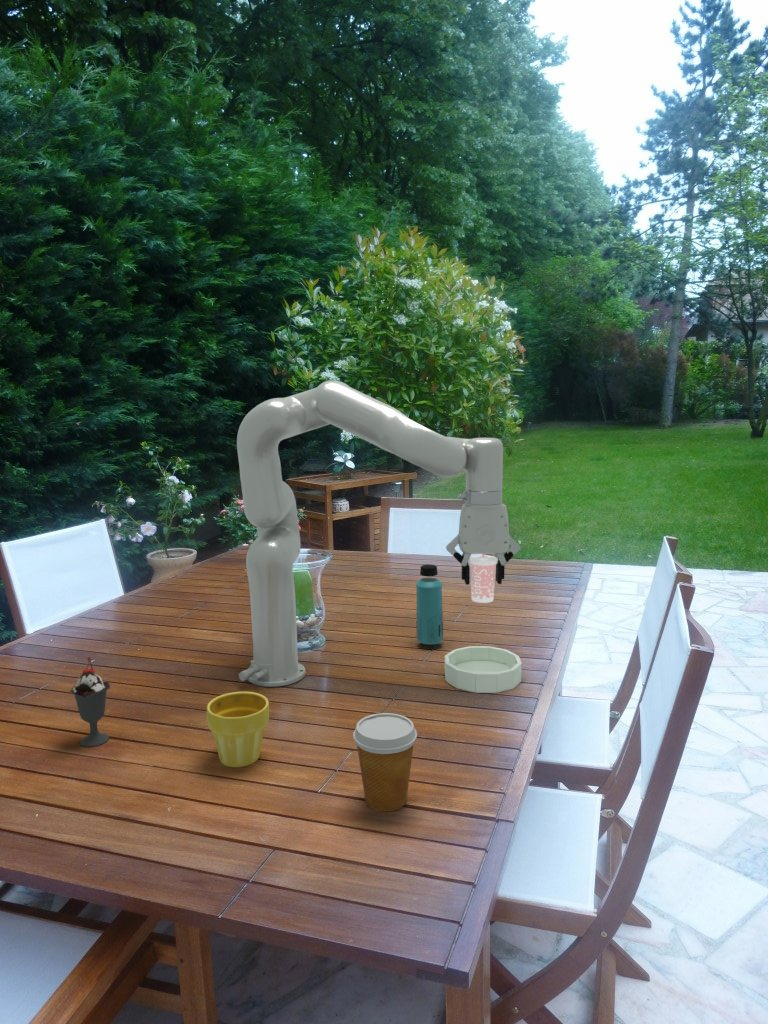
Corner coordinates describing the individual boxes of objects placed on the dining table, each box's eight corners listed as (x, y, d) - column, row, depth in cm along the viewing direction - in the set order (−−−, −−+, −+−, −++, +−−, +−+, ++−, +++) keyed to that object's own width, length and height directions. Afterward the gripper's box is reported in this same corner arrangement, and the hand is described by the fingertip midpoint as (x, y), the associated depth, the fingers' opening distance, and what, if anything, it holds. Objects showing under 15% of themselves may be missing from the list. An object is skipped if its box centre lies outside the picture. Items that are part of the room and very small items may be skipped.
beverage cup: (462, 600, 150) (462, 535, 148) (479, 593, 154) (480, 530, 152) (485, 605, 146) (486, 539, 143) (503, 599, 150) (504, 534, 148)
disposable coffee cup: (414, 781, 112) (414, 710, 110) (419, 817, 103) (419, 740, 101) (354, 783, 112) (353, 712, 110) (354, 819, 103) (352, 742, 101)
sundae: (102, 728, 132) (95, 651, 130) (121, 738, 128) (115, 659, 126) (67, 741, 127) (59, 662, 125) (86, 753, 123) (79, 671, 121)
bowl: (502, 698, 142) (502, 680, 141) (431, 682, 150) (431, 664, 150) (531, 671, 155) (531, 654, 155) (465, 658, 164) (465, 641, 163)
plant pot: (283, 751, 123) (281, 698, 121) (243, 779, 114) (240, 722, 112) (238, 737, 128) (235, 686, 126) (196, 763, 119) (192, 709, 117)
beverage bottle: (441, 651, 168) (441, 569, 165) (413, 649, 170) (413, 568, 166) (444, 641, 175) (444, 562, 171) (418, 640, 176) (417, 561, 173)
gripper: (443, 501, 143) (443, 588, 146) (529, 500, 143) (527, 587, 146) (440, 496, 150) (440, 578, 153) (521, 494, 150) (520, 577, 153)
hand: (482, 582), depth 149 cm, fingers closed on beverage cup, 6 cm apart
